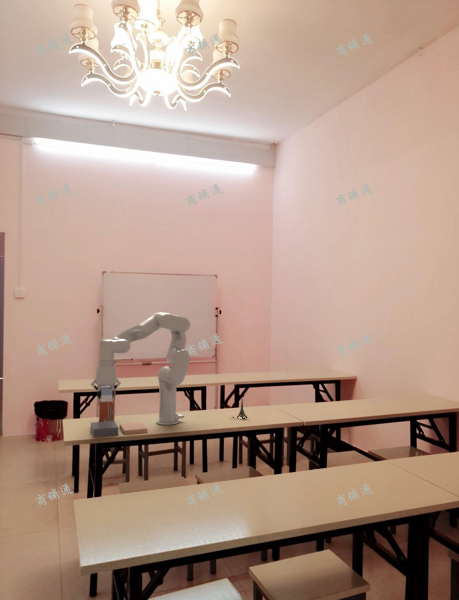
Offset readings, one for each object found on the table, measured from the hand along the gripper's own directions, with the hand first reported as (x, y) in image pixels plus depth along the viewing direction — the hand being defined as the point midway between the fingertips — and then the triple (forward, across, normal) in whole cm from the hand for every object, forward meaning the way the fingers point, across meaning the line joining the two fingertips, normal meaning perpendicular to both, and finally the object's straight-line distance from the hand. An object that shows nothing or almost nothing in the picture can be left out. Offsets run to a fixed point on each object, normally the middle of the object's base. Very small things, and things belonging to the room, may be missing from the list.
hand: (105, 398), depth 242 cm
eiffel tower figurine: (+18, -80, -4) cm, 82 cm away
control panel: (+18, -4, -20) cm, 27 cm away
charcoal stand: (+18, 0, 0) cm, 18 cm away
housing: (+1, 0, 0) cm, 1 cm away
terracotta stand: (+18, -15, 0) cm, 23 cm away
